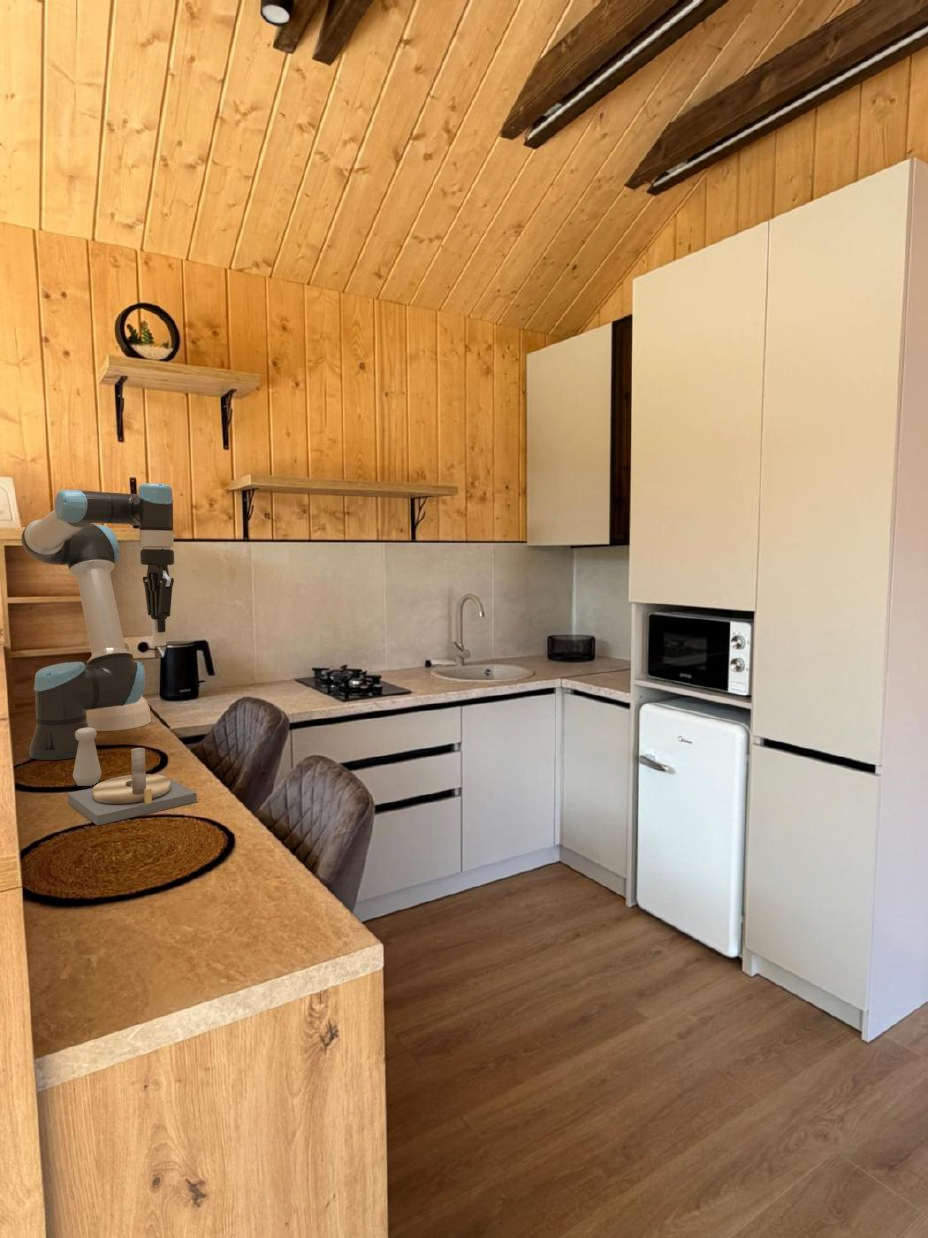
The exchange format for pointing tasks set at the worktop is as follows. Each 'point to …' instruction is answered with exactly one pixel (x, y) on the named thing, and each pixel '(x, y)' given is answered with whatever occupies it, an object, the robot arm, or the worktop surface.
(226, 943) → the worktop surface
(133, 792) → the dial
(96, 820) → the stand base
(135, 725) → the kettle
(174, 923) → the worktop surface
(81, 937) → the worktop surface
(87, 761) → the salt shaker
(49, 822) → the worktop surface
